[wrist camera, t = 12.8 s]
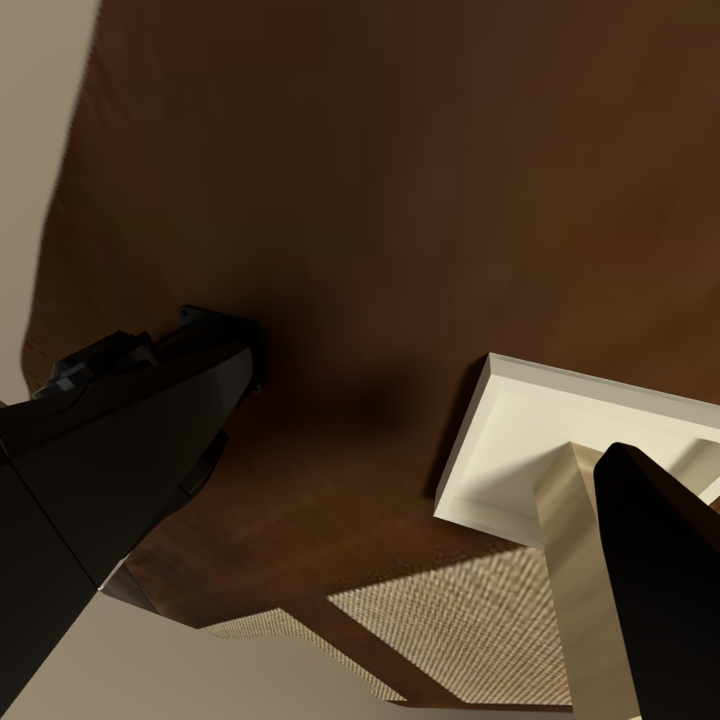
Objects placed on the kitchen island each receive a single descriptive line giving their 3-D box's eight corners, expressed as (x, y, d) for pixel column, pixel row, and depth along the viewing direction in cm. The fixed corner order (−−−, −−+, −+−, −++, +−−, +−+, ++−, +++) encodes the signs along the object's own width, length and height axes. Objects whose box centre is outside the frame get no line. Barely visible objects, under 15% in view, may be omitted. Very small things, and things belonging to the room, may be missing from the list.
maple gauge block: (533, 486, 25) (578, 736, 14) (570, 441, 22) (661, 711, 12) (602, 510, 25) (702, 790, 14) (649, 468, 22) (821, 778, 11)
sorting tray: (436, 490, 29) (433, 516, 27) (489, 352, 21) (491, 374, 19) (613, 544, 27) (625, 576, 25) (745, 411, 19) (779, 443, 17)
